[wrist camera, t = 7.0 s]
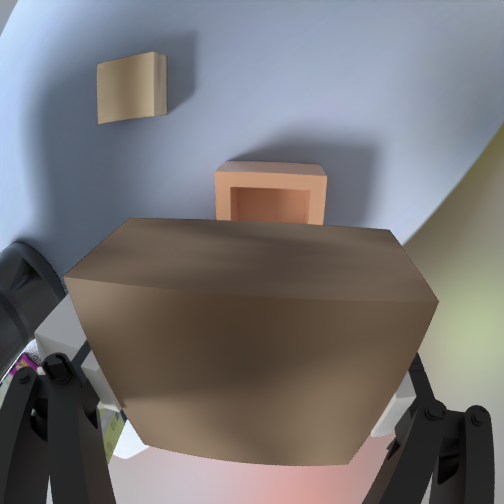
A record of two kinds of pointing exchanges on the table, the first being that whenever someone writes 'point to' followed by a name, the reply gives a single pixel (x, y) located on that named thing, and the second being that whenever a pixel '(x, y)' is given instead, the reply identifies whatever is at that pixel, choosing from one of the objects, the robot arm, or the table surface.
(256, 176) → the open square box
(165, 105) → the stand
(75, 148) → the table surface
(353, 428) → the brown box
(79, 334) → the milk carton
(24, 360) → the candy bar box
